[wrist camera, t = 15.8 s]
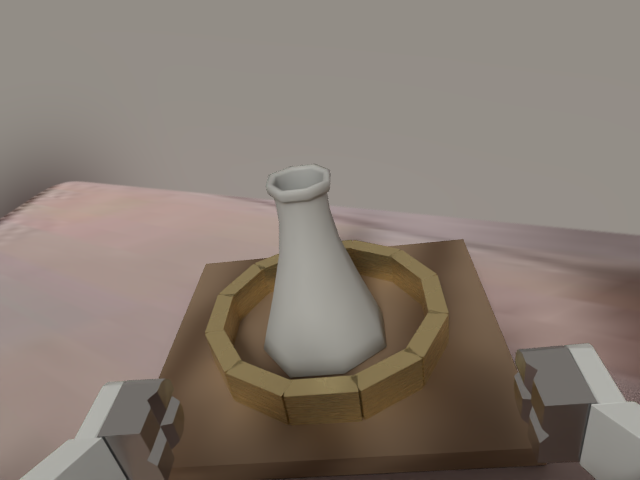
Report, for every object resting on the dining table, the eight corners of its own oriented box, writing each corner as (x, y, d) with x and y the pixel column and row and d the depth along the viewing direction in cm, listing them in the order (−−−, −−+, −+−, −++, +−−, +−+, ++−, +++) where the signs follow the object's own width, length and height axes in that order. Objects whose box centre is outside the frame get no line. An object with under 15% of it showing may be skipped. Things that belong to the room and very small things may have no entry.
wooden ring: (426, 257, 34) (425, 232, 33) (468, 414, 23) (469, 384, 22) (239, 275, 35) (232, 251, 34) (191, 431, 24) (180, 403, 23)
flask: (253, 315, 31) (215, 168, 26) (361, 284, 32) (344, 138, 27) (278, 399, 25) (234, 229, 20) (409, 356, 26) (399, 186, 21)
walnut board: (462, 253, 36) (463, 239, 35) (546, 465, 21) (548, 447, 21) (210, 276, 38) (206, 264, 37) (129, 486, 23) (120, 470, 23)
